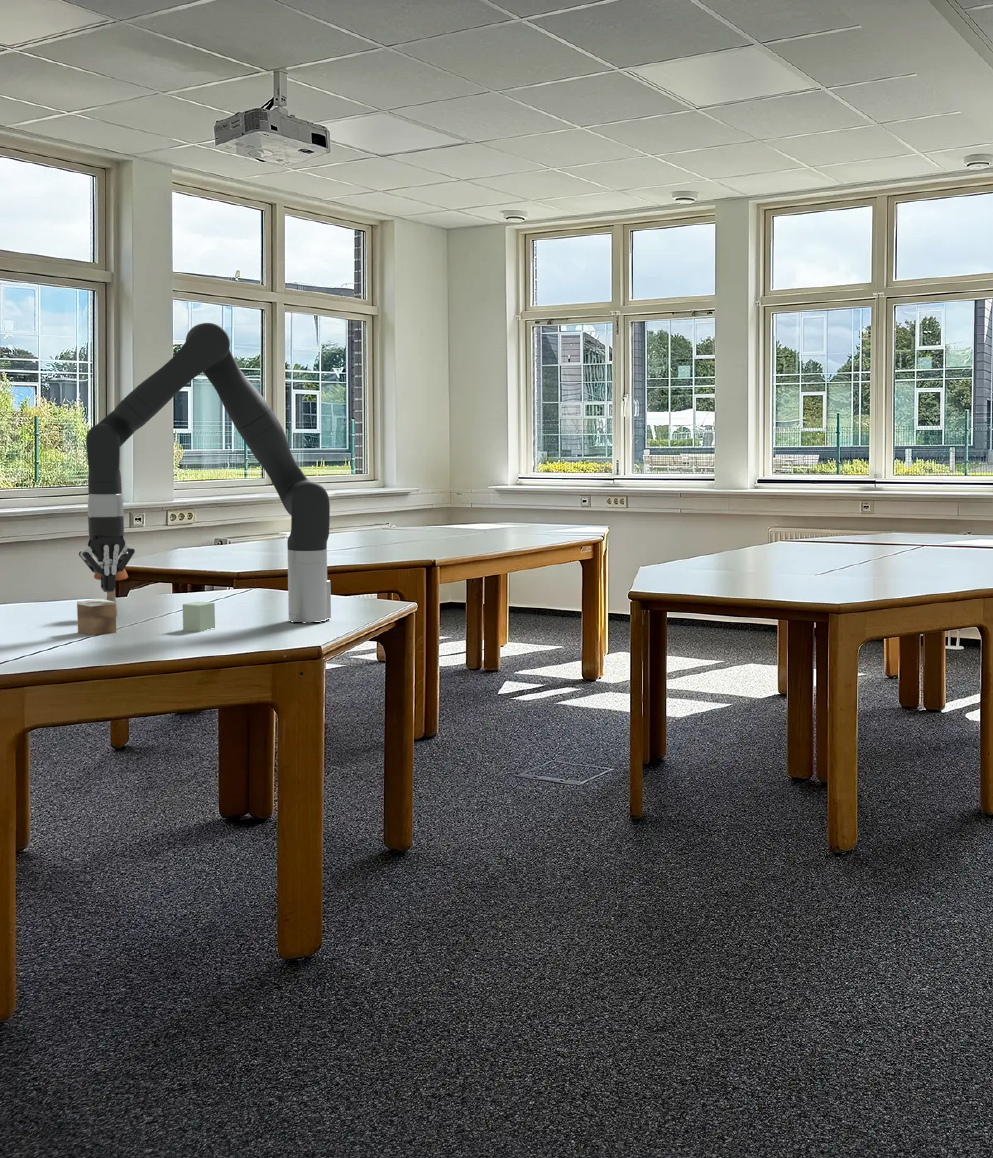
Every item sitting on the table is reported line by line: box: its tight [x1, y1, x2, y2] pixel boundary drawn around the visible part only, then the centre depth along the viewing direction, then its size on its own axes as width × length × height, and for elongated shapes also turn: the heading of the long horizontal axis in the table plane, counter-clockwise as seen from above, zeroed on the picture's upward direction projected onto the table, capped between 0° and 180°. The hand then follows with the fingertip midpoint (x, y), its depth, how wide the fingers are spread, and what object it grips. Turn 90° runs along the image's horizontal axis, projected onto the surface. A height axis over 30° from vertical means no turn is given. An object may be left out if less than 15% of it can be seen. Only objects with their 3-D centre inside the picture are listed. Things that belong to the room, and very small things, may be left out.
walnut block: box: [76, 598, 117, 637], centre depth 264 cm, size 6×6×7 cm
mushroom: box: [93, 568, 129, 618], centre depth 286 cm, size 8×8×15 cm
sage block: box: [182, 601, 216, 633], centre depth 269 cm, size 5×5×6 cm
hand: (108, 591), depth 265 cm, fingers closed
